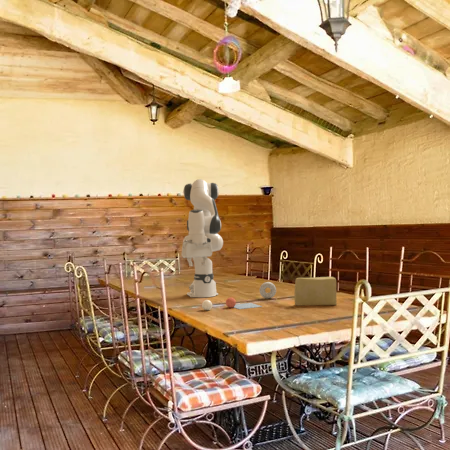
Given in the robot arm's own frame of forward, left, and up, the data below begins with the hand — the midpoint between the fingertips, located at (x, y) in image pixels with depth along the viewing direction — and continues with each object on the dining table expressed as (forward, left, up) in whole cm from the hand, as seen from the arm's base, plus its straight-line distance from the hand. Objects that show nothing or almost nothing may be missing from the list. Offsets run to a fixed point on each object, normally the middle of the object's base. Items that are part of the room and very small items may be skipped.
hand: (197, 265), depth 273 cm
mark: (+3, +26, -24) cm, 35 cm away
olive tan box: (+20, +61, -24) cm, 68 cm away
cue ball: (+3, +4, -21) cm, 22 cm away
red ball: (+3, +18, -21) cm, 28 cm away
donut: (-13, +50, -24) cm, 57 cm away
